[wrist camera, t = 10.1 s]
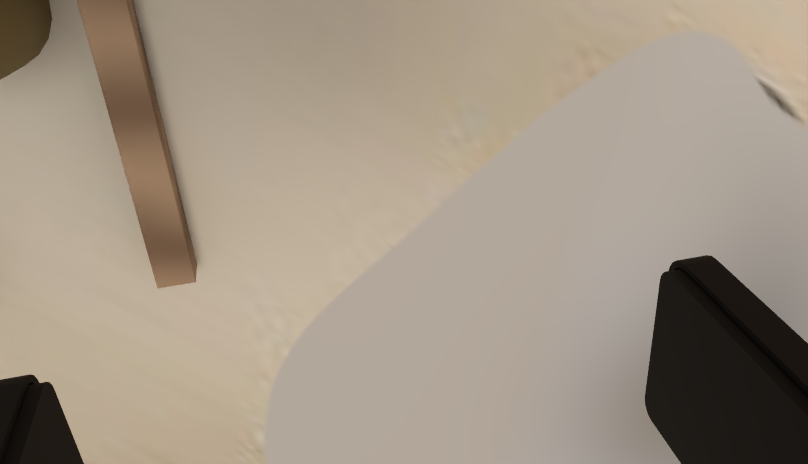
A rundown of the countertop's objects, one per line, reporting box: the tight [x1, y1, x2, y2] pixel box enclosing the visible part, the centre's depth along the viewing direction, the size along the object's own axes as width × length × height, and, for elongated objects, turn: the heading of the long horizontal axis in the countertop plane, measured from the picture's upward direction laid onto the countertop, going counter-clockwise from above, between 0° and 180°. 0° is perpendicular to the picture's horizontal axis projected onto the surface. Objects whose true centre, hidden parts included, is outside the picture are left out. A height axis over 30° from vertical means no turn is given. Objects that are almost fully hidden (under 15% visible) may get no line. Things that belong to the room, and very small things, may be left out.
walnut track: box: [77, 0, 197, 288], centre depth 34 cm, size 21×13×4 cm, turn 4°
